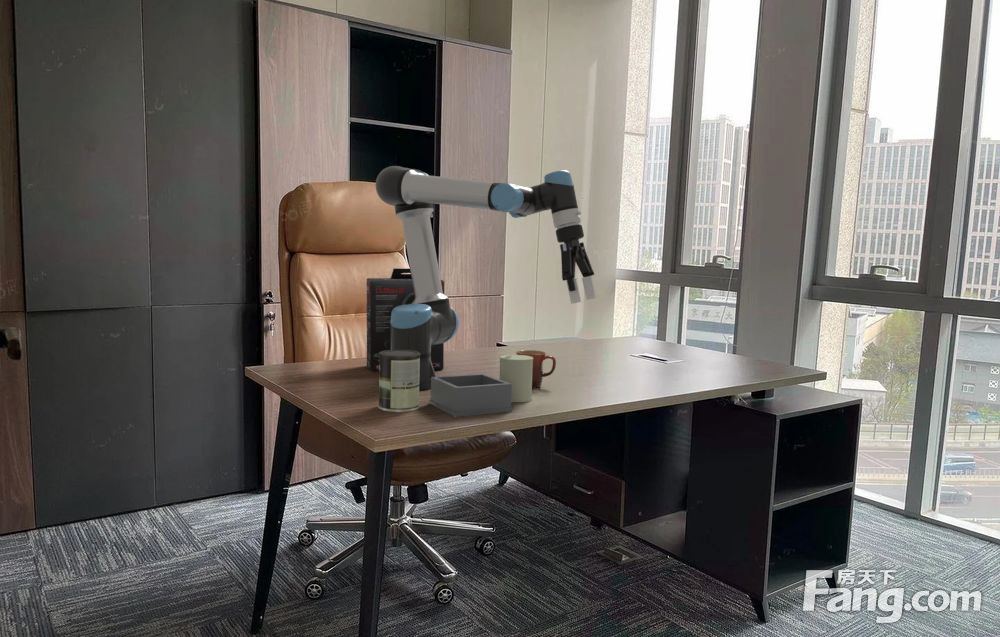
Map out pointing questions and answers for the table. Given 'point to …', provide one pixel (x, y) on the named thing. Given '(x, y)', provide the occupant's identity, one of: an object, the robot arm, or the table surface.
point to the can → (517, 376)
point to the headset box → (379, 308)
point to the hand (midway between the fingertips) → (584, 301)
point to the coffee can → (399, 380)
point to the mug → (538, 365)
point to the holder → (470, 394)
